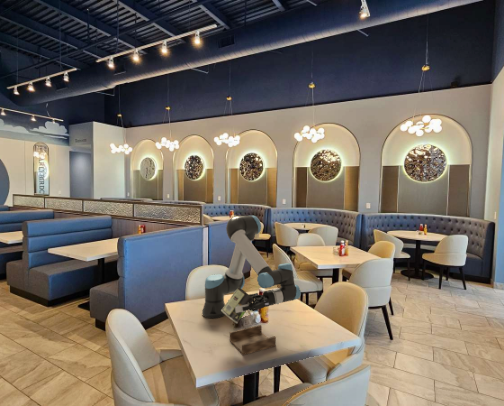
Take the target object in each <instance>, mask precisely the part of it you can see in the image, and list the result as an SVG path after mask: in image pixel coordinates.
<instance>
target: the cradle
mask: <svg viewBox="0 0 504 406" xmlns="http://www.w3.org/2000/svg"><path fill="white" fill-rule="evenodd" d="M262 328H263V327H262V325H261V324H258V325H253V326H250V327H245V328H240V329H238V330H237V329H236V330H232V331H229V341H230V342H231V344H232V345H233V346H234V347H235V348H236V350H238V352H239V353H240V354H241V355H242V356H245V355H250V354H252V353H253V354H254V353H257V352H259V351H263V350H264V351H265V350H267V349H270V348H274V347H276V345H277V341H276V338H277V337H276V336H269V337H268V336H267V335H266V334H264V332H262V330H263V329H262Z"/></svg>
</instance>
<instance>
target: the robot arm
mask: <svg viewBox="0 0 504 406" xmlns="http://www.w3.org/2000/svg"><path fill="white" fill-rule="evenodd" d="M225 228H226V229H225V231H226V234H227V237H228V238H229V241H230V242H231V243H234V244H235V246H234V249H233V252H232V257H231V260H230V265H229V266H228V268H227V269H226V270H225V272H224V273H225V274H224V275H223V274H221V273H217V274H211V275H208V276H206V278H205V280H204V305H203V308H202V309H201V312H202V313H201V314H203V315H204V316H205V317H204V316H203V315H202V316H203V317H204V318H207V317H208V319H219V318H223V317H224V316H226V315H225V314H224V313H223V312H222V311H221V310H222V309H223V307H224V306H225V305H226V304H225V300H224V299H225V298H224V297H225V295H229V294H232V293H234V292H235V291H236V290H237V288H238V287H240V288H241V289H242V290H243V288H244V287H245V283H246V282H245V281H246V280H245V276H244V273H243V269H244V265H245V262H246V261H247V262H248V264H249V265H250V267H251V268H252V269H253V270H254V272H255V273H256V275H257V278H256V279H257V285H258V286H259V287H260V288H261V289H268V288H269V290H264V291H263V293H262V294H259V293H258V292H256V293H249V295H250V296H251V297H252V298H254V299H255V300H254V301H253V302H252V303H251V304H250V303H249V305H248V304H246V305H241V306H237V307H235V312H236V313H238V312H243V311H246V312H247V311H251V312H256V311H259V310H261V309H263V308H266V307H272V306H273V305H279V304H282V303H287V302H291V301H295V300H298V299H301V295H302V293H301V292H302V291H301V289H300V287H299V285H298V284H295V279H294V270H293V265H292V263H290V262H289V263H286V262H285V263H280V264H278V266H277V269H274V270H273V269H272V268H271V267H270V265H269V264H268V263H267V261H266V260H265V259H264V257H263V256H262V255H261V254H260V251H258V249H257V248H256V247H255V246H254V244H253V243H252V241H254V240H255V237H256V235H257V234H260V233H261V230H262V223H261V220H260V219H259V218H258V217H257V216H256V215H250V214H249V215H238V216H233V217H231V218H230V219H229V220H228V221H227V223H226V227H225ZM278 285H280V287H276V288H273V287H275V286H278ZM270 288H272V289H270ZM228 301H229V299H228V300H227V302H228Z"/></svg>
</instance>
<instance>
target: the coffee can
mask: <svg viewBox="0 0 504 406" xmlns="http://www.w3.org/2000/svg"><path fill="white" fill-rule="evenodd" d="M249 294H250V293H249ZM249 294H248V293H247V292H246V291H245V290H243V288H242V289H241V288H240V287H238V288H237V290H236V291H235V292H233V294H232V295H231V297H230V298H229V299H228V300H229V301H228V300H227V301H226V304H225V306H224V307H223V309H222V310H221V311H222V312H223V313H224V314H225V316H226V317H227V318H228V319H230V320H231V321H232V322H233V323H235V324H238V323H239V322H240V320H241V319H242V318H243V316H244V315H245V314H246V312H247V311H243V312H238V313H236V312H235V307H237V306H241V305H246V304H248V305H249V303H250V304H251V303H253V301H254V300H255V299H254V298H252V297H251V296H250V295H249Z"/></svg>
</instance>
